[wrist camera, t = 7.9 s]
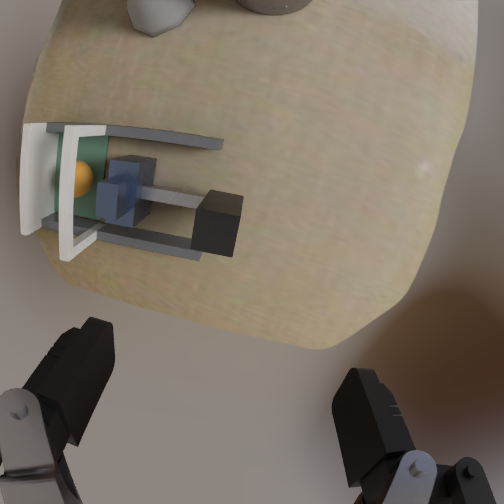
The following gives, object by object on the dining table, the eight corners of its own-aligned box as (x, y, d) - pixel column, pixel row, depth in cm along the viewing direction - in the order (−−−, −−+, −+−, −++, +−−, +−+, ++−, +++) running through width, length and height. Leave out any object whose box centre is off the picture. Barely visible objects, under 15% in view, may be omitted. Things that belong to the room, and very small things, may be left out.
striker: (130, 154, 28) (77, 167, 19) (247, 174, 29) (245, 194, 20) (124, 209, 31) (74, 243, 21) (235, 230, 32) (228, 276, 22)
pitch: (55, 122, 27) (5, 125, 18) (223, 139, 28) (211, 140, 20) (49, 218, 31) (4, 243, 23) (203, 250, 33) (187, 290, 24)
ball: (70, 164, 24) (102, 162, 28) (54, 159, 26) (83, 157, 29) (68, 204, 26) (98, 198, 29) (52, 195, 27) (80, 191, 31)
